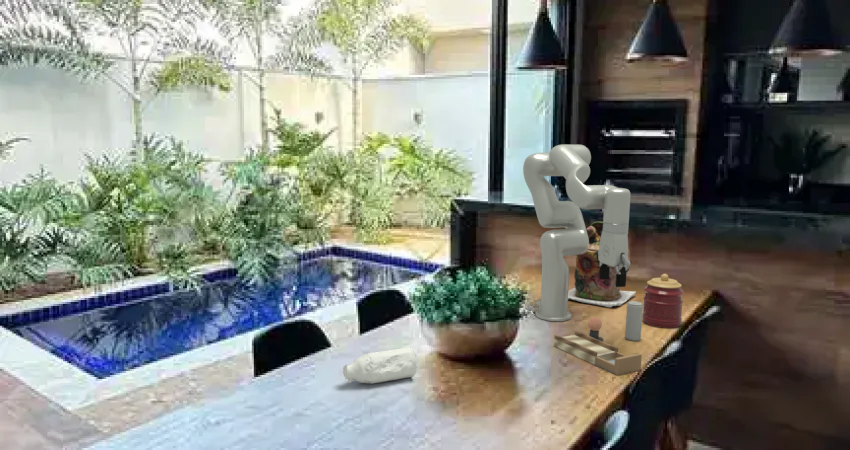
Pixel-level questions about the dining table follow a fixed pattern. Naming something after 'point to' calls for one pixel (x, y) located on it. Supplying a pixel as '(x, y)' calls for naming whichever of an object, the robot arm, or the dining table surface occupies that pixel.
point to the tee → (595, 335)
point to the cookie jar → (596, 276)
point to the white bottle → (382, 366)
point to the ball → (594, 324)
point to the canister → (663, 302)
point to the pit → (620, 363)
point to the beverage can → (633, 321)
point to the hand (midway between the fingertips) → (612, 282)
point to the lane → (585, 347)
